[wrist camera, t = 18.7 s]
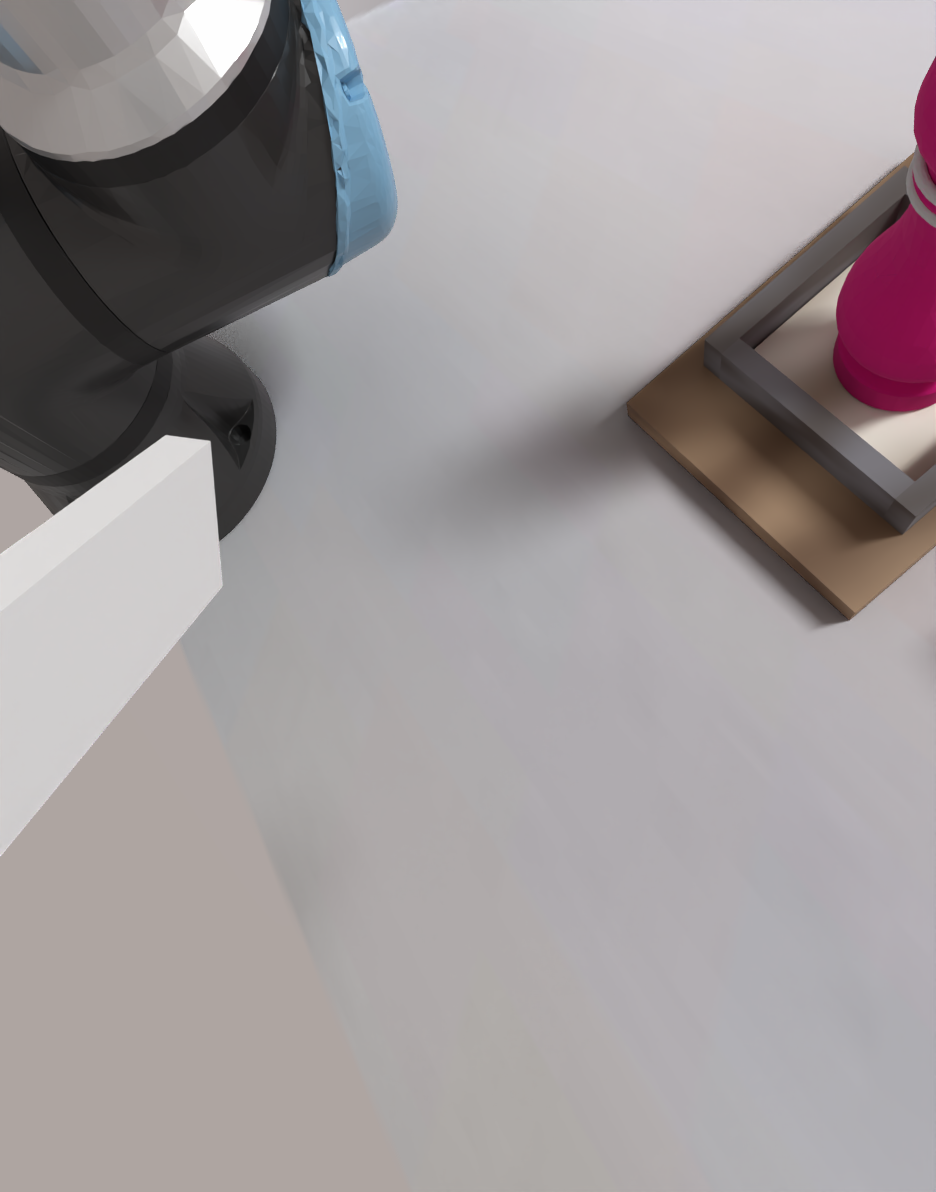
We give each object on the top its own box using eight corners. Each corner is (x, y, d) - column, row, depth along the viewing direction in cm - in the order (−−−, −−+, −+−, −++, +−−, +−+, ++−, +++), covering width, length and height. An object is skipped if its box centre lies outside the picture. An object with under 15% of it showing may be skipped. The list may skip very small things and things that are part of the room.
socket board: (628, 415, 46) (623, 379, 43) (926, 156, 46) (947, 97, 42) (849, 620, 41) (866, 599, 37) (1190, 325, 40) (1242, 274, 37)
